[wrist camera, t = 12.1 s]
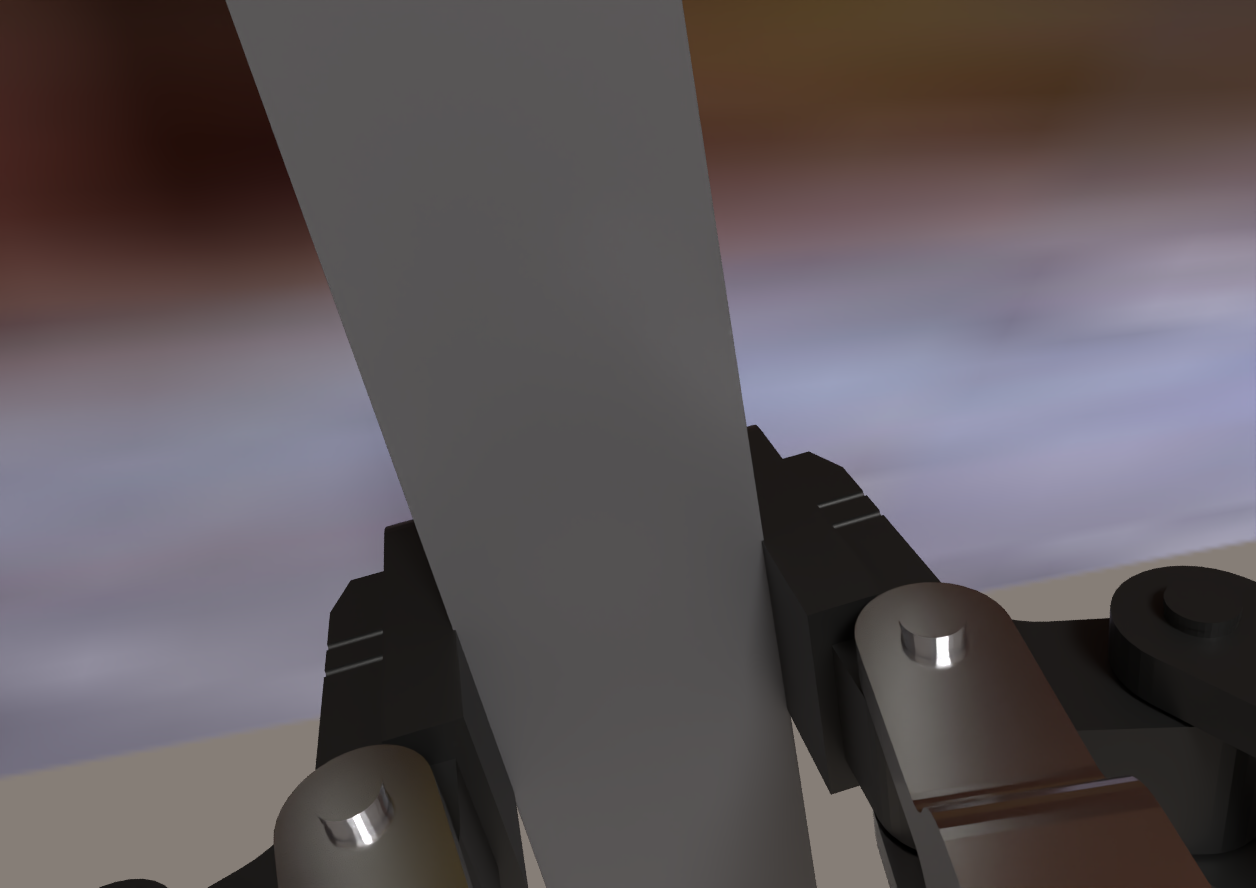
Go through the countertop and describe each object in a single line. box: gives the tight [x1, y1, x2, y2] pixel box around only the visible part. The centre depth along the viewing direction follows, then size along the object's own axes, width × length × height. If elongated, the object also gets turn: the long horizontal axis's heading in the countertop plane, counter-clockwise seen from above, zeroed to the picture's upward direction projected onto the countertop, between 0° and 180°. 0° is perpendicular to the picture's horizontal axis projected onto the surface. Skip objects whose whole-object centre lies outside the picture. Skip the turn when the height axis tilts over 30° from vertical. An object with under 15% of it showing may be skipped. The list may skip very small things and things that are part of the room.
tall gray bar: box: [226, 0, 817, 888], centre depth 11 cm, size 12×3×4 cm, turn 11°
